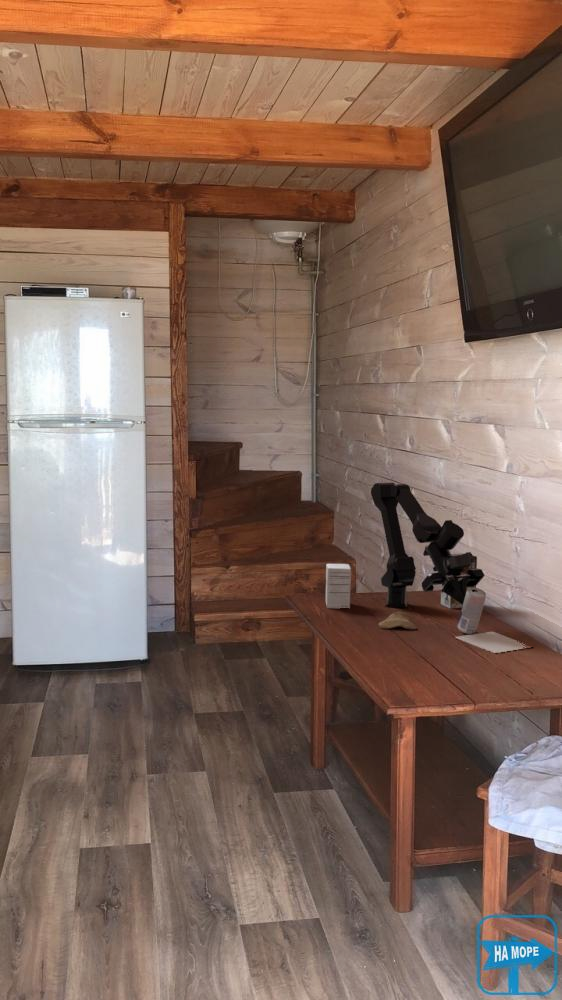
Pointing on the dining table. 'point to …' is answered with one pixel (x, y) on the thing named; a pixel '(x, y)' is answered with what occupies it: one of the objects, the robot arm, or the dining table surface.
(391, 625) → the pottery shard
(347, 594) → the supplement box
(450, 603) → the coffee box
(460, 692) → the dining table surface
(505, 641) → the white mat
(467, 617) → the energy drink
